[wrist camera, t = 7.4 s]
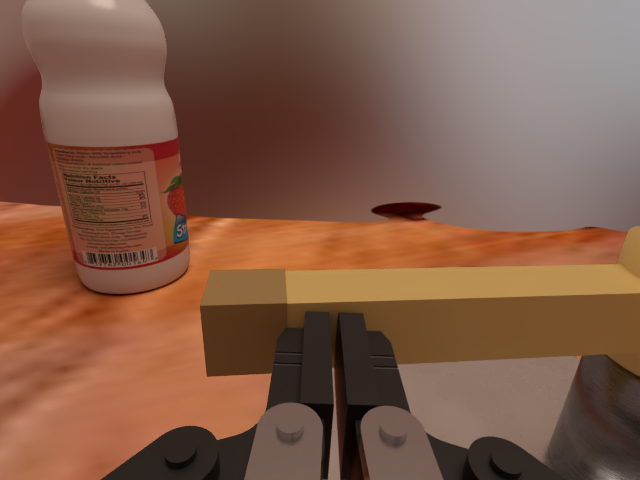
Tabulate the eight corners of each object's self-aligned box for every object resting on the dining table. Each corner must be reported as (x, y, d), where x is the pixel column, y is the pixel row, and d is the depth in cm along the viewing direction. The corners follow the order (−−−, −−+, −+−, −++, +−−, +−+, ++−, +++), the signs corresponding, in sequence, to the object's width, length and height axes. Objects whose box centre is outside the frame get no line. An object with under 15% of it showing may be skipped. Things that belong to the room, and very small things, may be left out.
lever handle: (663, 316, 18) (704, 224, 16) (794, 397, 13) (871, 283, 11) (222, 332, 15) (214, 227, 14) (202, 437, 11) (186, 302, 9)
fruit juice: (65, 267, 36) (-31, -122, 25) (165, 242, 42) (123, -80, 31) (99, 310, 30) (-8, -181, 19) (210, 273, 36) (177, -114, 25)
